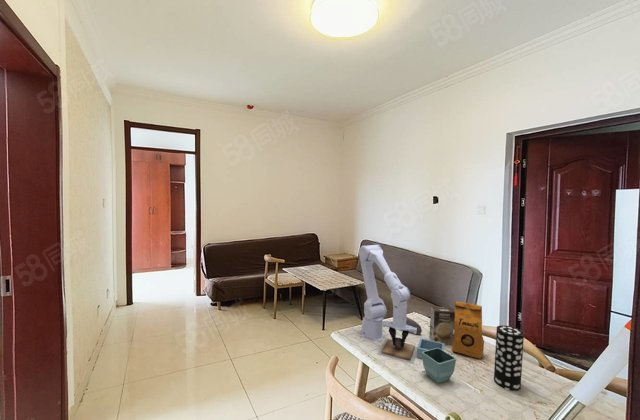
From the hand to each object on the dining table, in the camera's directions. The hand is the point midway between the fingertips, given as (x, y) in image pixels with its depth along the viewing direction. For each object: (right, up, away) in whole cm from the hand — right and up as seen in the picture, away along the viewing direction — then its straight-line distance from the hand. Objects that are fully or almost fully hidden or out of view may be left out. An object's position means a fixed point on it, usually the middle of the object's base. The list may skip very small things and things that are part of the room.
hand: (398, 345), depth 128 cm
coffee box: (+22, -3, +9) cm, 24 cm away
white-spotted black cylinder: (+34, -5, -20) cm, 40 cm away
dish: (+13, -3, -3) cm, 14 cm away
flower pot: (+10, -4, -18) cm, 21 cm away
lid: (0, -2, 0) cm, 2 cm away
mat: (0, -3, 0) cm, 3 cm away
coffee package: (+30, -4, +1) cm, 31 cm away
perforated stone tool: (+10, -2, +20) cm, 22 cm away
